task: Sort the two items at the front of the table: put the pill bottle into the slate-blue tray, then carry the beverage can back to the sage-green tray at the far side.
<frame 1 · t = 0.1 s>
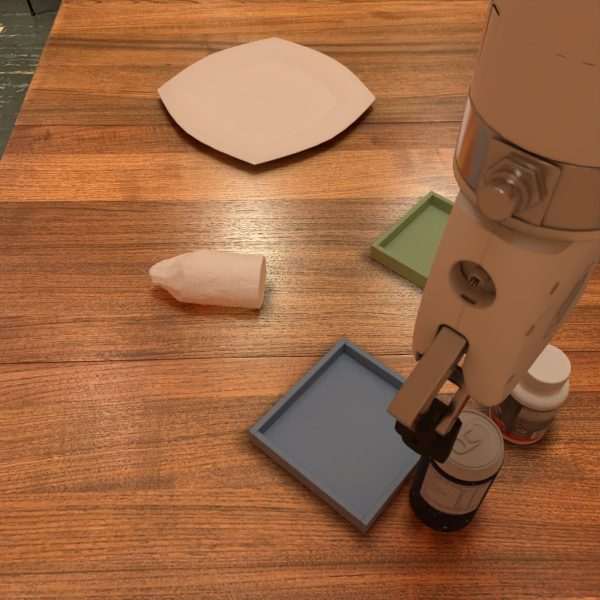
hand: (467, 386, 38), 22 cm above the table, tool pointing down, fingers open, 9 cm apart
pill bottle: (515, 421, 62), on the table
green tray: (443, 252, 75), on the table
plate: (266, 106, 94), on the table
beverage can: (440, 504, 57), on the table
blue tray: (352, 431, 61), on the table
pale pink bottle: (209, 295, 71), on the table
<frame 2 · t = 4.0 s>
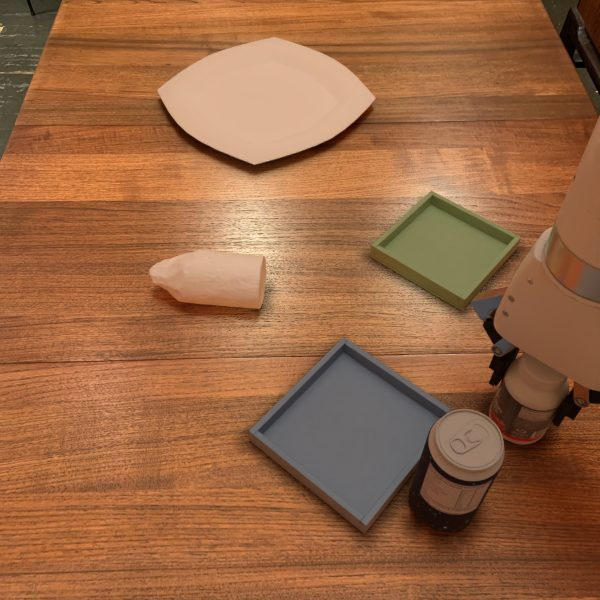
hand: (530, 393, 58), 5 cm above the table, tool pointing down, fingers closed on pill bottle, 5 cm apart
pill bottle: (515, 421, 62), on the table, touching gripper
everything else where it was.
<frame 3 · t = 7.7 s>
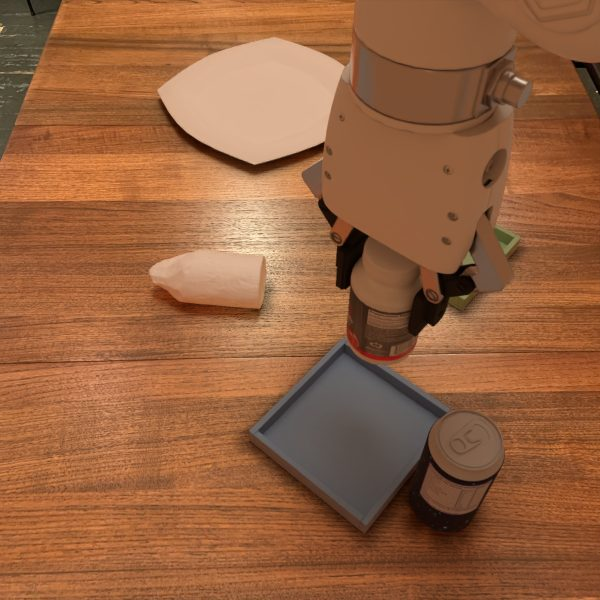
hand: (387, 297, 46), 19 cm above the table, tool pointing down, fingers closed on pill bottle, 5 cm apart
pill bottle: (380, 339, 50), point 14 cm above the table, touching gripper
everything else where it was.
when the fingers open (5 cm above the table, at t = 11.3 s): pill bottle stays where it is, resting on blue tray.
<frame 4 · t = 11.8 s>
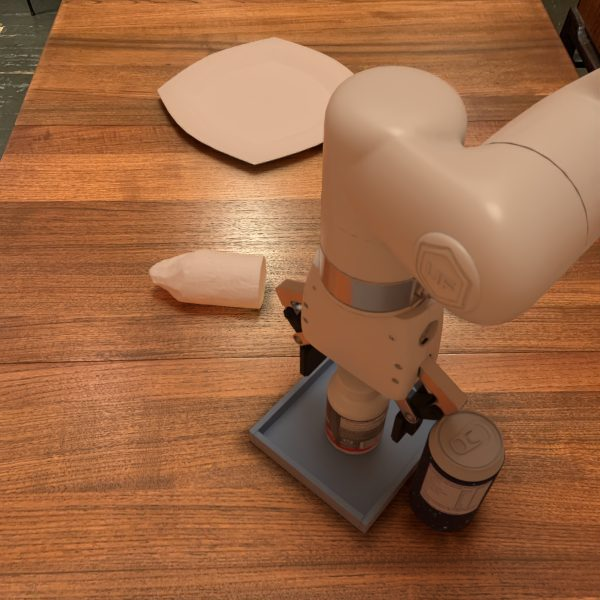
hand: (357, 396, 56), 6 cm above the table, tool pointing down, fingers open, 9 cm apart
pill bottle: (353, 430, 61), resting on blue tray
beverage can: (440, 504, 57), on the table, touching gripper
everything else where it was.
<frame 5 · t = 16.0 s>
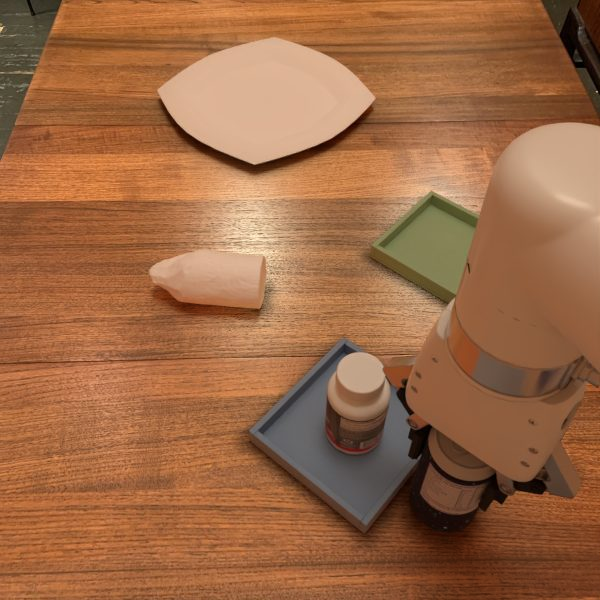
hand: (456, 468, 51), 7 cm above the table, tool pointing down, fingers closed on beverage can, 5 cm apart
beverage can: (440, 504, 57), on the table, touching gripper
everything else where it was.
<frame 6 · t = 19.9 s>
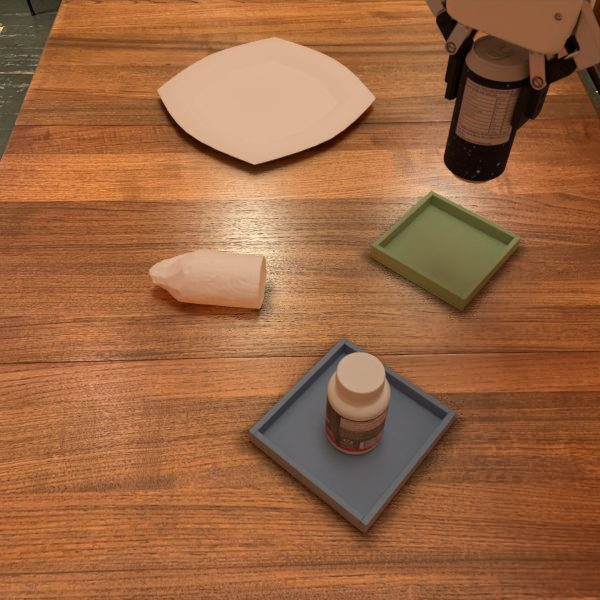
hand: (489, 105, 56), 22 cm above the table, tool pointing down, fingers closed on beverage can, 5 cm apart
beverage can: (471, 170, 61), point 15 cm above the table, touching gripper
everything else where it was.
when the fingers open (7 cm above the table, at t = 23.9 s): beverage can stays where it is, resting on green tray.
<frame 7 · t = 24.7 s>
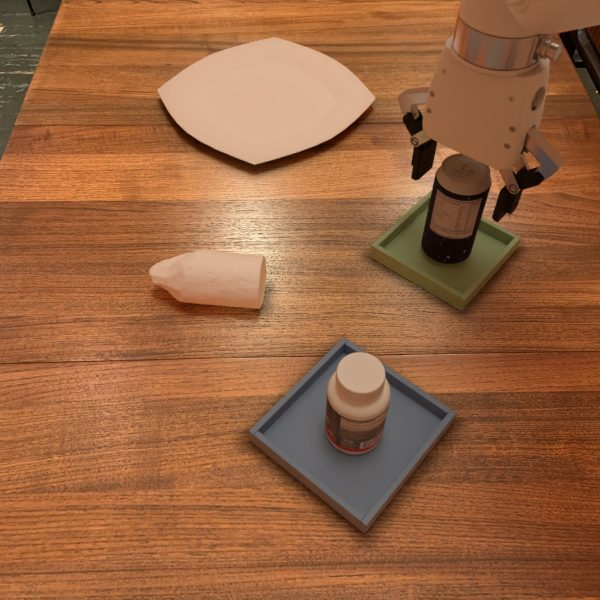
hand: (460, 193, 68), 9 cm above the table, tool pointing down, fingers open, 9 cm apart
beverage can: (444, 252, 75), resting on green tray
everything else where it was.
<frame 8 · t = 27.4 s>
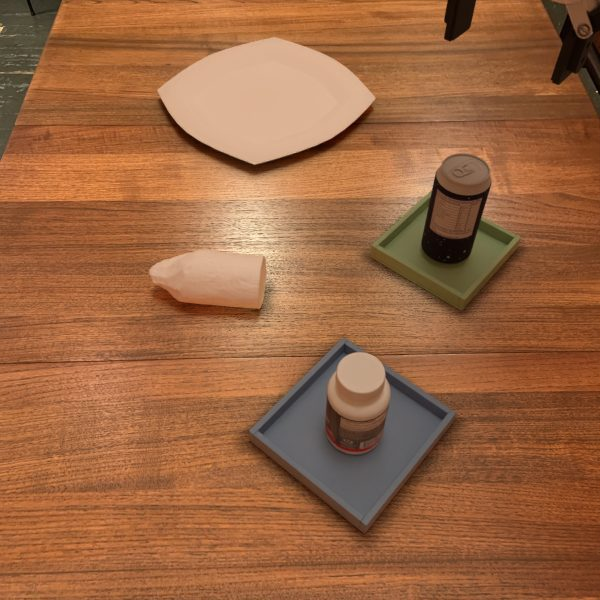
hand: (507, 54, 53), 26 cm above the table, tool pointing down, fingers open, 9 cm apart
nothing on the table moved.
at the end: pill bottle inside the target area in the blue tray (0.1 cm from its centre), point 0.2 cm above the blue tray's base; beverage can inside the target area in the green tray (0.1 cm from its centre), point 0.2 cm above the green tray's base; beverage can tilted 0° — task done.
